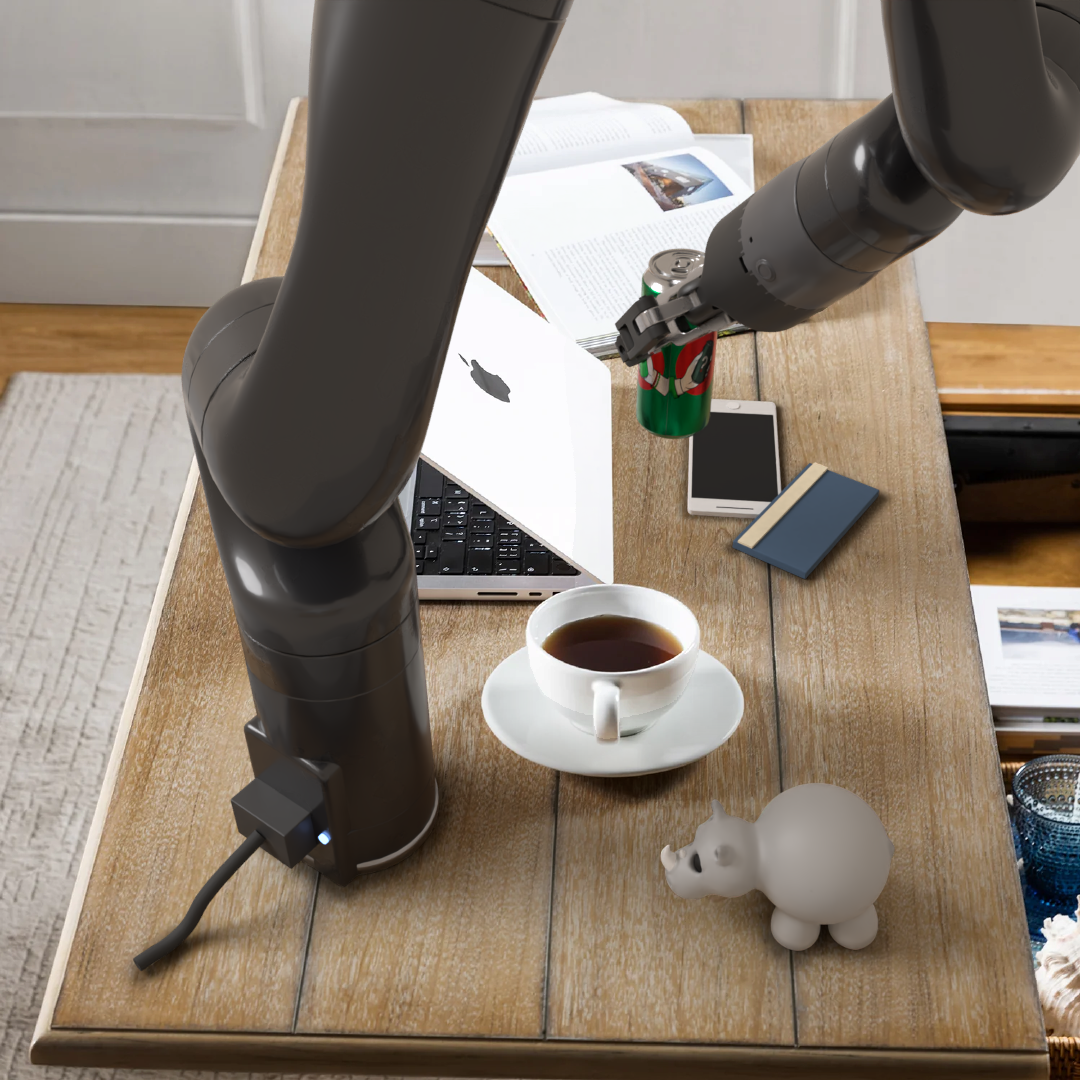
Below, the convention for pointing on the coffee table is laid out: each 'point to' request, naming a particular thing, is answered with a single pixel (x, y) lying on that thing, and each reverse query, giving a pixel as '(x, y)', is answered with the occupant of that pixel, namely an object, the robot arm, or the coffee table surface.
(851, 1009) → the coffee table surface
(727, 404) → the smartphone
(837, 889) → the toy rhinoceros
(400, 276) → the robot arm
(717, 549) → the coffee table surface
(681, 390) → the soda can
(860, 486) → the notebook
